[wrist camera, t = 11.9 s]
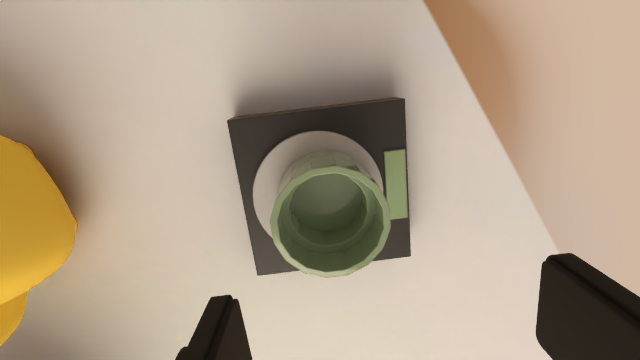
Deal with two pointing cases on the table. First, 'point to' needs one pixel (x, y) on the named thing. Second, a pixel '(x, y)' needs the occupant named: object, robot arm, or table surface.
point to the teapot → (28, 230)
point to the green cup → (329, 215)
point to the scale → (313, 136)
